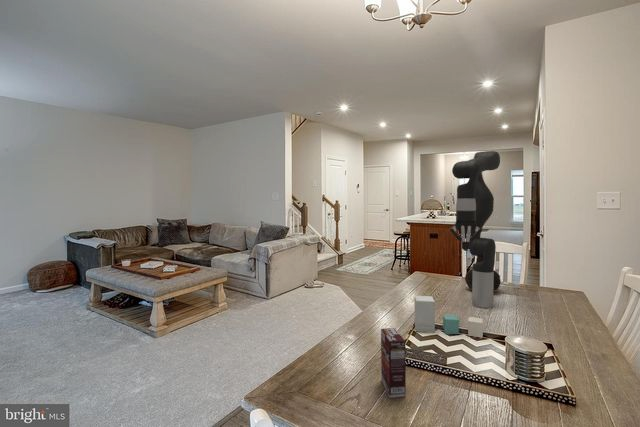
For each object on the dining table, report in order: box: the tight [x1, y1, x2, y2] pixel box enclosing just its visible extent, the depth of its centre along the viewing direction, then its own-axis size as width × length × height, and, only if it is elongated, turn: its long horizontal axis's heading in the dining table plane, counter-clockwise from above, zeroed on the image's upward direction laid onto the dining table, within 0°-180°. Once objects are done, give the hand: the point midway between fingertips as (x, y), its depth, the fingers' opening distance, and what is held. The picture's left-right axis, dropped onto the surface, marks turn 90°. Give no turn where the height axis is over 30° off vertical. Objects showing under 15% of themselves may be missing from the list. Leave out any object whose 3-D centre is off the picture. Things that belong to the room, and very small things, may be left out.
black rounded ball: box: [464, 256, 502, 293], centre depth 183 cm, size 18×18×28 cm
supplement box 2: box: [414, 295, 436, 334], centre depth 133 cm, size 7×7×13 cm
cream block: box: [467, 316, 484, 337], centre depth 127 cm, size 5×5×6 cm
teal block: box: [442, 314, 460, 335], centre depth 130 cm, size 5×5×6 cm
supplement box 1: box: [380, 327, 407, 399], centre depth 92 cm, size 9×5×16 cm, turn 5°
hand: (465, 250), depth 137 cm, fingers closed
